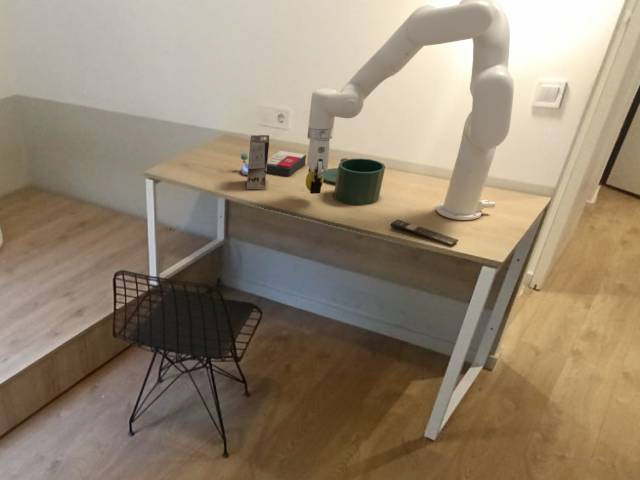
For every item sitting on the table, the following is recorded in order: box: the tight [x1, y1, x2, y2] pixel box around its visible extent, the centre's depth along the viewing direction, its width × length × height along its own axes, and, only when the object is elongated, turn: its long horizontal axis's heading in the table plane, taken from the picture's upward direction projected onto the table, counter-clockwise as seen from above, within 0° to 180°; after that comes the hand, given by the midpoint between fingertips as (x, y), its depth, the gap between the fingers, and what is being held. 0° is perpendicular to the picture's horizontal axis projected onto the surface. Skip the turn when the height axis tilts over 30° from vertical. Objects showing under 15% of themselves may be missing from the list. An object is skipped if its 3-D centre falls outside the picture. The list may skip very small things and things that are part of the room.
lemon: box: [305, 169, 324, 191], centre depth 200 cm, size 6×6×8 cm
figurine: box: [240, 152, 249, 176], centre depth 228 cm, size 8×7×7 cm
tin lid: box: [322, 158, 349, 184], centre depth 219 cm, size 15×15×7 cm
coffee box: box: [246, 134, 270, 191], centre depth 215 cm, size 9×6×16 cm
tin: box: [333, 157, 386, 206], centre depth 204 cm, size 14×14×10 cm
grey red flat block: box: [266, 150, 307, 177], centre depth 231 cm, size 11×4×15 cm
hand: (313, 189), depth 202 cm, fingers closed on lemon, 5 cm apart
